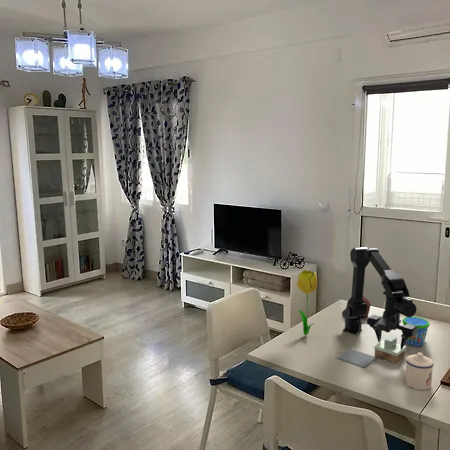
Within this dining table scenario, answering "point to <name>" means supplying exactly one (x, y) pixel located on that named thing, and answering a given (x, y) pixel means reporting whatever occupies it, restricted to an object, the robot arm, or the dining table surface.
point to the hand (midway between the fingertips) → (390, 345)
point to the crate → (389, 356)
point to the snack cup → (422, 330)
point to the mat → (357, 358)
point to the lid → (390, 346)
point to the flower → (306, 285)
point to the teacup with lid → (418, 371)
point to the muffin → (367, 306)
